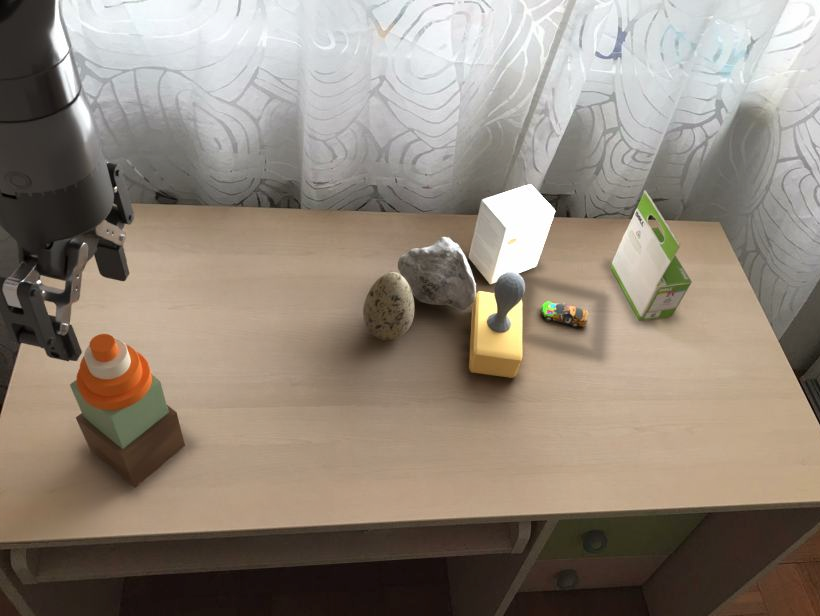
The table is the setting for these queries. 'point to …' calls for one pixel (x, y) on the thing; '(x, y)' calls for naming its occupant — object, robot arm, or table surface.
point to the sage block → (126, 415)
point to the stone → (439, 274)
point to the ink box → (650, 265)
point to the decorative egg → (389, 307)
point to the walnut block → (136, 447)
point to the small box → (510, 232)
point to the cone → (112, 374)
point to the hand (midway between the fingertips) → (92, 314)
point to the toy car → (564, 314)
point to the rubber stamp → (498, 328)
